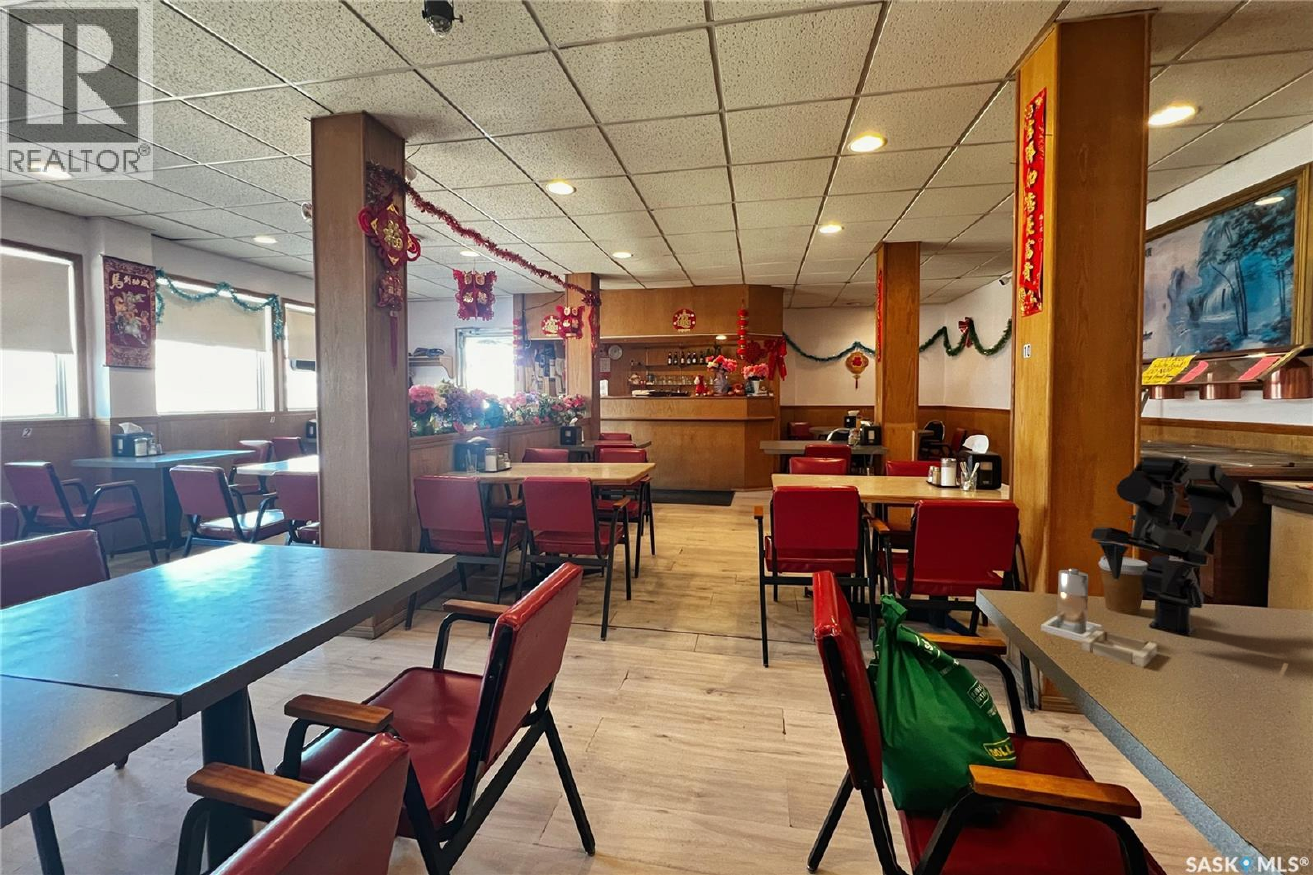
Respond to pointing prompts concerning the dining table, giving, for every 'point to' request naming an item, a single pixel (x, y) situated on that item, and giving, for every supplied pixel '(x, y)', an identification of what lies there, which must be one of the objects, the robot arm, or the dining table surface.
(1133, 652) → the tray
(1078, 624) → the battery cell
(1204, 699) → the dining table surface
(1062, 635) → the tray
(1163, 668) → the dining table surface
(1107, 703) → the dining table surface
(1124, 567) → the disposable coffee cup
